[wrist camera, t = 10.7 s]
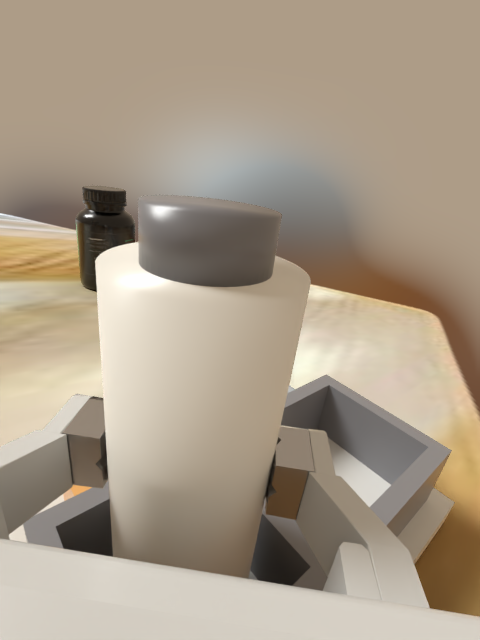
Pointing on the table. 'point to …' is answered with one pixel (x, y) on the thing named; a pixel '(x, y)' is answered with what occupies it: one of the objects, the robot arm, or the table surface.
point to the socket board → (284, 534)
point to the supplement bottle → (101, 228)
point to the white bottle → (195, 378)
